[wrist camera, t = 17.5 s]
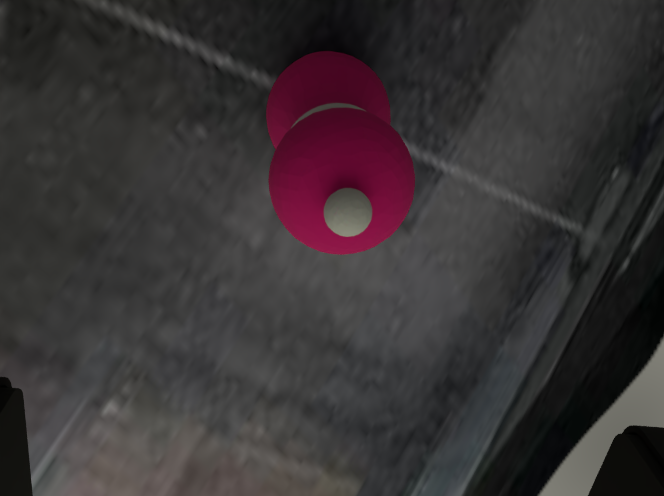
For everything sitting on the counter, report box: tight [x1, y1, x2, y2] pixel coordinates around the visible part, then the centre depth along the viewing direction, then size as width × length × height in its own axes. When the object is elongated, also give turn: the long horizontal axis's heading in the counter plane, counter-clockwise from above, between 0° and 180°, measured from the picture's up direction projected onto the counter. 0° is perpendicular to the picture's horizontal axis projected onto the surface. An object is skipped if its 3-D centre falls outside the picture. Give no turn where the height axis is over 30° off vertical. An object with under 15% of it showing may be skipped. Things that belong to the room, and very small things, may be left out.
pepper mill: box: [266, 51, 415, 254], centre depth 30 cm, size 7×7×20 cm
